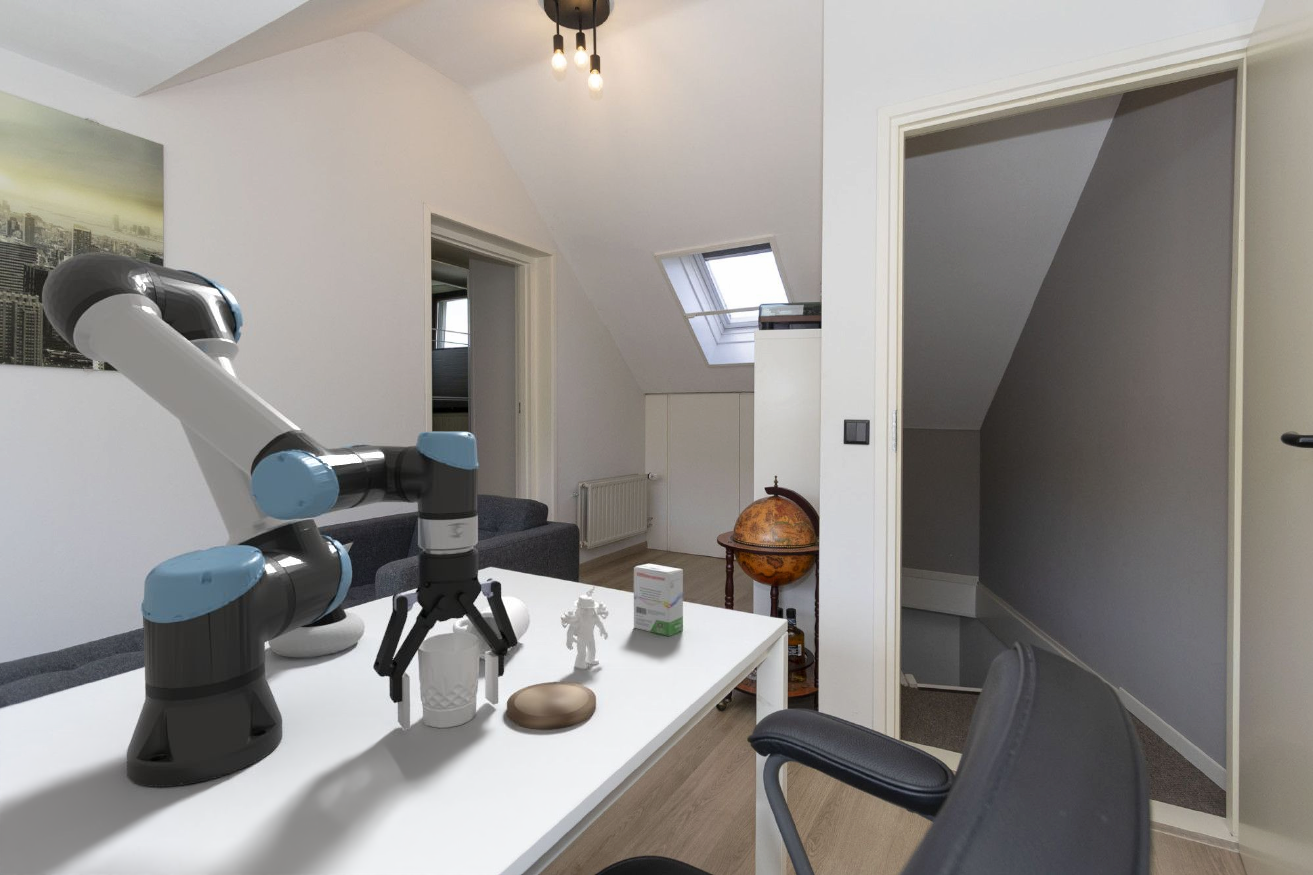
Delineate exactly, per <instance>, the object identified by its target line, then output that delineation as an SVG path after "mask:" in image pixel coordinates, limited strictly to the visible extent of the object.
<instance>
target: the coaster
mask: <svg viewBox="0 0 1313 875" xmlns="http://www.w3.org/2000/svg"><path fill="white" fill-rule="evenodd" d="M596 709H597V696H596V694H595V692H594V691H593V690H592V689H590V688H589V687H588V686H584V685H583V684H579V683H576V682H575V683H573V682H569V681H568V682H567V681H566V682H565V681H551V682H550V681H548V682H541V683H536V684H532V685H529V686H525V687H523V688H521V689H519V690H517V691H515V692H514V693H513V694H511V695H510V696H509V698H508V699H507V701H506V715H507V718H508V719H509V720H510V722H512V723H514V724H516V725H518V726H520V727H523V728H528V729H533V730H557V729H564V728H568V727H572V726H575V725H578V724H580V723H582V722H584V721H587V720H588V719H589V718H591V716H593V714H594V713H595V712H596Z"/></svg>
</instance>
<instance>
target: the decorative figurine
mask: <svg viewBox="0 0 1313 875" xmlns="http://www.w3.org/2000/svg"><path fill="white" fill-rule="evenodd" d="M353 544H354V541H352V542H349V543H346V544H342V546H343V547H344V548H345V550H346V551H347V553H349V551H350V549H351V548H352V545H353ZM365 625H366V624H365V622H364V620H363V618H362V617H361V616H360V615H358V614H357V613H355V612H353V611H348V610H344V608H343V605H342V604H341V603H340V604H339V606H338V607H336V608H335V609H334V610H333V611H331V612H330V613H328V614H326V615H324V616H323V617H322V618H320V619H319V620H317V621H314V622H312V623H311V624H308V625H303V626H301V627H299V628H297V629H294V630H292V631H290V632H288V633H285V634H283V635H281V636H279V637H276V638H274V639H272V640H269V641H267V642H268V645H269V648H270V649H271V650H272V652H274V653H275V654H278V655H279V656H283V657H286V658H287V657H288V658H295V659H297V658H300V659H301V658H302V659H303V658H316V657H322V656H326V655H331V654H335V653H339V652H342V651H344V650H346V649H349V648H351V647H352V646H354V645H356V644H357V643H358V642H359V641H360V640H361V638H362V637H363V636H364V633H365V629H366V627H365Z"/></svg>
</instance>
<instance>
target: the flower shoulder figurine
mask: <svg viewBox="0 0 1313 875" xmlns="http://www.w3.org/2000/svg"><path fill="white" fill-rule="evenodd" d="M594 591H595V586H592V588H591V589H590V590H588V591H586V594H583V595H579V597H578V599H577V600H575V601H574V603H573V604H574V606H575V607H576V609H575V611H574V610H570V608H569V609H568V611H564V613H563V614H564V615H561V617H560V620H561V621H560V622H561V625H562V627H563V628H564V629H565V628H567V627H568V628H567V631H566V643H565V645H566V647H567V649H568V650H570V651H572V650H573V649H574V646H573V644H574V643H575V644H576V651H577V654H576V657H575V660H574V667H575V668H576V669H579V670H586V669H588V668H589V665H599V663H600V661H599V659H597V657H596V653H597V652H596V651H597V648H596V640H595V634H594V629H595V627H597V628H598V631H599V635H600V637H601V638H602V637H603V639H604V640H605V641H606V640H608V638H609V637H608V636H609V633H608V631H607V629H606V627H605V625H604V623H603V622H602V620H606V618H608V615H609V610H607V606H606V604H605V602H601V601H600V602H596V601H595V600H594V599H593V598H592V594H594ZM603 615H604V616H603ZM599 616H600V617H601V618H602V620H601V619H600V617H599ZM568 625H569V626H568ZM575 637H576V638H575Z"/></svg>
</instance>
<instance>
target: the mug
mask: <svg viewBox="0 0 1313 875" xmlns="http://www.w3.org/2000/svg"><path fill="white" fill-rule="evenodd" d="M501 598H502V601H503V603H504V606H505V609H506V612H507V614H508V617H509V620H510V622H511V625H512V628H513V630H514V633H515V636H516V638H517V642H518V641H520V639H521V638H522V637H523V636H524V635H525V634H526V632H527V631H528V629H529V627H530V620H531V619H530V613H529V610H528V608H527V606H526V605H525V604H524V603H523V602H522V601H521V600H520V599H518V598H516V597H513V596H501ZM479 612H480V613H481V616H482V617H483V618H484V620H485V621H486V622H487V624H488V625H489V626H490V628H491V629H492V630H493V632H494V633H495V634H496V636H497V637H498V639H499V640H500V639H501V635H500V632H499V630H498V627H497V624H496V622H495V619H494V616H493V614H492V611H491V608H490V606H489V605H487V606H486V607H485V608H483V610H481V611H479ZM465 626H466V627H465ZM452 633H469V634H473V635H476V636H478V637H479V638H480V653H479V659H481V660H484V661H485V652H487V651H491V652H492V649H491V648H490V646H489V645H488V644H487V642H486V641H485V640H484V638H483V637H482V636H481V634H480V633H479V632H478V630H477V629H476V628H475V627H474V625H473V624H472V623H471V621H470V620H469V619H468V617H463V618H459V619H457V620H455V622H454V623H453V625H452ZM512 648H513V647H510V648H509V649H508V652H510V650H512Z"/></svg>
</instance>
